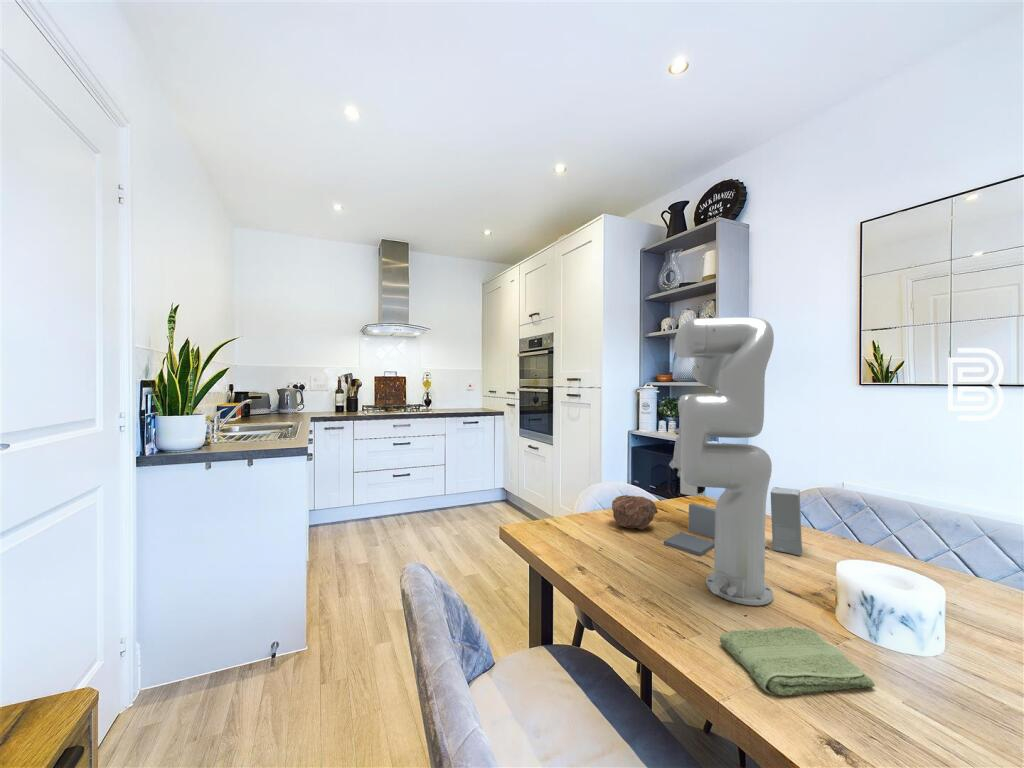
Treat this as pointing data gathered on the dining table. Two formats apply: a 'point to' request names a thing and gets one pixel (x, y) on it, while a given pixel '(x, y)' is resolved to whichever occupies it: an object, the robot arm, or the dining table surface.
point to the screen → (702, 520)
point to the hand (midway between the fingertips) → (691, 490)
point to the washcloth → (793, 661)
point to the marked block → (688, 488)
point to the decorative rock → (633, 511)
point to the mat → (689, 543)
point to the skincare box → (786, 520)
